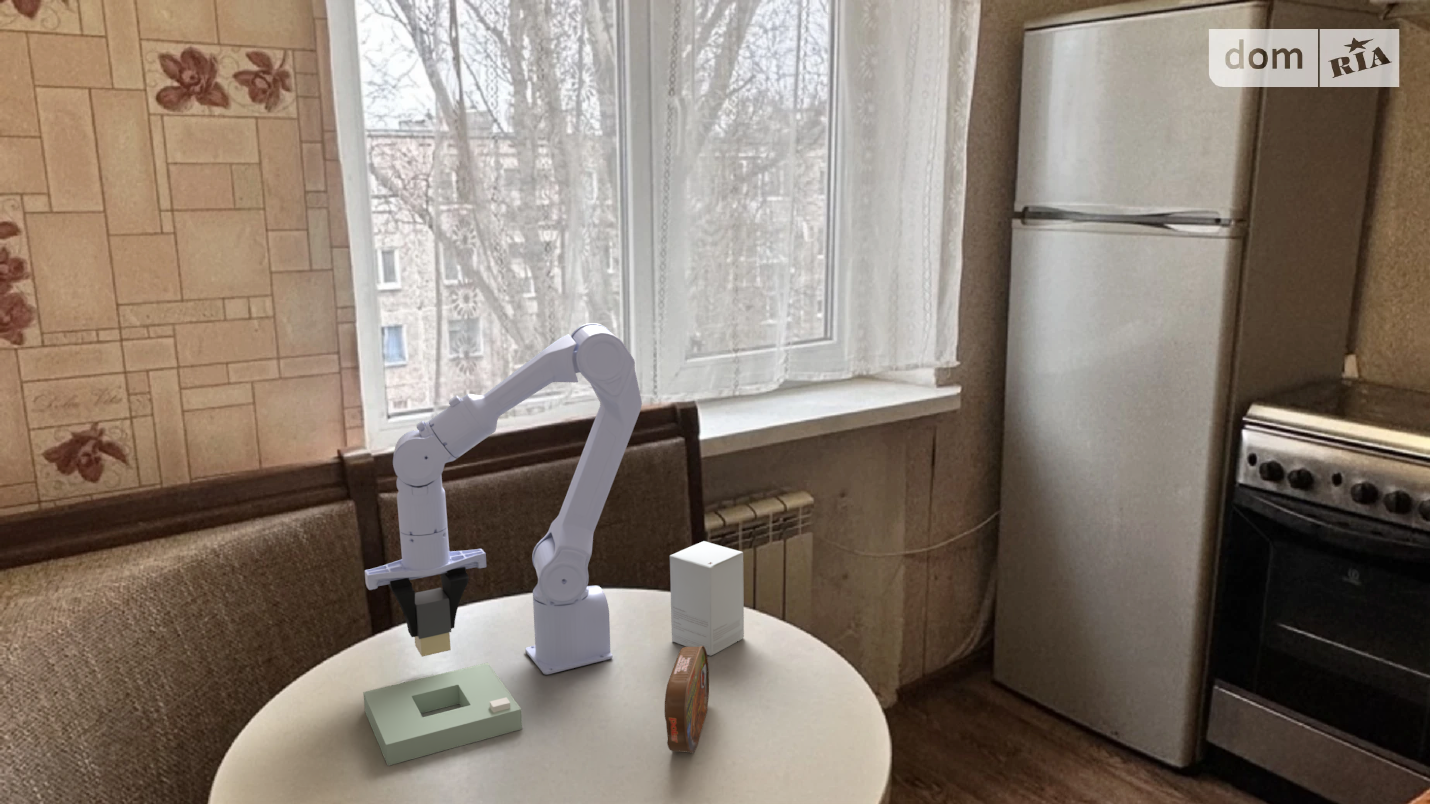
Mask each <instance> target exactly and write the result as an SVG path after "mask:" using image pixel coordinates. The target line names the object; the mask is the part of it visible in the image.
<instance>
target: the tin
mask: <svg viewBox="0 0 1430 804" xmlns="http://www.w3.org/2000/svg"><path fill="white" fill-rule="evenodd" d="M708 660H709V659H708V655H707V652H706V649H705V647H704V646H700V647H686V646H684V647H682V648H680V650H679V652H678V655H677V658H676V660H675V663H674V665H673V666H672V670H671V673H670V676H669V678H668V682H667V684H666V689H665V694H664V695H665V696H664V697H665V698H664V718H665V724H666V736H667V742H666V744H667V747H668V749H669V751H671V752H675V753H677V752H678V753H690V754H694V753H695V752H696V750H697V747H698V744H699V740H700V737H701V734H702V730H703V726H704V723H705V720H706V716H707V713H708V712H707V711H708V707H709V697H710V674H709V673H710V672H709V671H710V670H709V661H708Z"/></svg>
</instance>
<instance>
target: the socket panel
mask: <svg viewBox="0 0 1430 804" xmlns="http://www.w3.org/2000/svg"><path fill="white" fill-rule="evenodd" d="M362 693H363V704H364V705H363V706H364V712H365V715H366V717H367V720H368V722H369V724H370V727H371V729H372V732H373V734H374V737H375V739H376V741H377V744H378V745H379V749H380V750H381V753H382V756H383V758H384V761H385V763H386V764H387V766H392V765H396V764H399V763H400V764H401V763H403V762H406V761H410V760H414V759H418V758H421V757H424V756H430V755H433V754H436V753H441V752H444V751H447V750H450V749H451V750H452V749H454V748H457V747H461V746H464V745H469V744H472V743H476V742H479V741H483V740H487V739H490V738H494V737H498V736H501V735H506V734H508V733H512V732H516V731H519V730H523V720H522V718H523V717H522V708H521V706H519V705H520V704H518V702H517V701H516V700H515V698H514V697H513V695H512V694H511V692H510V691H509V690H508V689H507V686H505V684H504V683H503V681H501V679H500V678H499V676H498V675H497V673H496V672H495V671H494V669H493V668H492V666H491V665H490V664H489V663H488V662H485V663H480V664H476V665H472V666H468V667H464V668H460V669H455V670H451V671H448V672H447V671H446V672H442V673H438V674H435V675H430V676H426V677H421V678H416V679H413V680H408V681H404V682H400V683H397V684H391V685H388V686H382V687H379V688H375V689H374V688H373V689H372V690H371V689H370V690H367V691H363V692H362ZM455 705H460V707H457V708H454V709H451V710H447V711H446V710H445V711H443V712H438V713H435V714H430V715H426V716H423V715H422V714H424V713H428V712H431V711H432V712H433V711H435V710H436V711H437V710H440V709H444V708H447V707H448V708H449V707H451V706H455Z"/></svg>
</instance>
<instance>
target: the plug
mask: <svg viewBox="0 0 1430 804" xmlns="http://www.w3.org/2000/svg"><path fill="white" fill-rule="evenodd" d="M415 617H416V623H417V636H416V637H414V645H415V647H416V649H417V651H418V652H419V654H420V656H421V657H426V656H431V655H435V654H439V653H445V652H448V651H451V649H452V648H451V635H450V633H452V629H451V620H450V606H449V598H448V597H447V595H446V594H445V593H444V591H443V588H442V587H437V588H433V589H427V590H422V591H418V592H417V591H416V592H415Z"/></svg>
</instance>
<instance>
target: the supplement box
mask: <svg viewBox="0 0 1430 804" xmlns="http://www.w3.org/2000/svg"><path fill="white" fill-rule="evenodd" d="M669 571H670V572H669V574H670V580H669V582H670V615H671V617H670V618H671V620H670V621H671V622H670V623H671V624H670V625H671V641H672V643H675V644H678V645H682V646H684V647H700V646H704V647H705V649H706V652H707V656H713V655H715V654H718V653H719V652H721V651H723V650H725V649H727V648H728V647H730V646H732V645H734V644H736V643H737V641H738V642H739V641H741V640H743V639H744V637H745V621H744V619H745V611H744V610H745V609H744V606H745V605H744V602H745V601H744V585H745V584H744V552H743V551H740V550H737V549H733V548H730V547H727V546H722V545H719V544H715V543H712V542H709V541H706V540H703V541H701V542H699V543H695V544H693V545H690V546H689V547H686V548H684V549H681V550H679V551H677V552H675V553H673V554H670V555H669Z"/></svg>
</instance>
